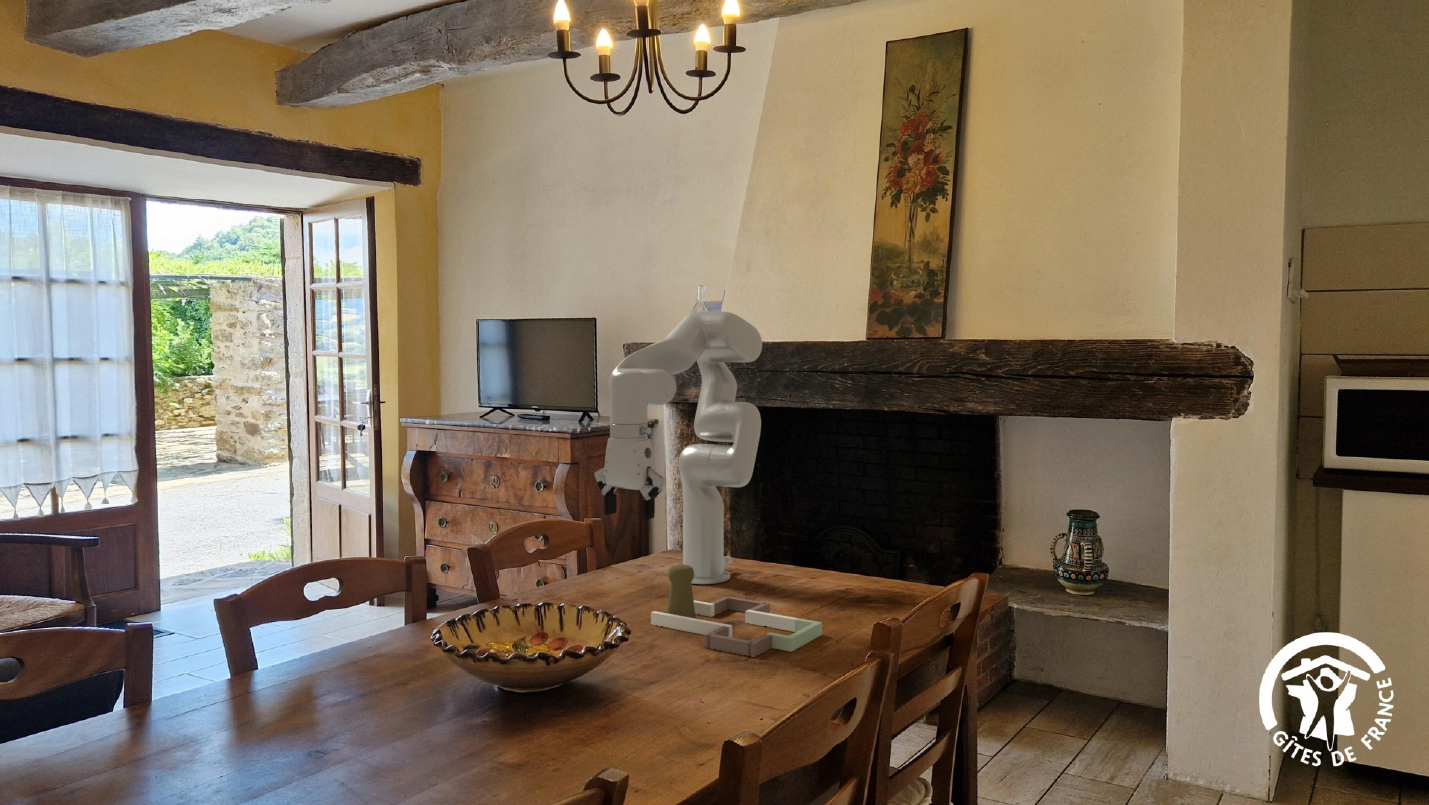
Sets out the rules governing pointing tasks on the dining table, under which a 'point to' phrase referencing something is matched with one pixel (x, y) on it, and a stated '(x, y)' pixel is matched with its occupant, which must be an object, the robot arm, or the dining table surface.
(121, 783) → the dining table surface
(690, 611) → the olive pawn
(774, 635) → the trap lane
